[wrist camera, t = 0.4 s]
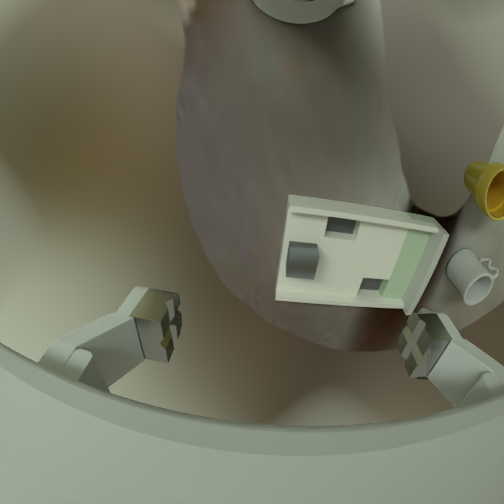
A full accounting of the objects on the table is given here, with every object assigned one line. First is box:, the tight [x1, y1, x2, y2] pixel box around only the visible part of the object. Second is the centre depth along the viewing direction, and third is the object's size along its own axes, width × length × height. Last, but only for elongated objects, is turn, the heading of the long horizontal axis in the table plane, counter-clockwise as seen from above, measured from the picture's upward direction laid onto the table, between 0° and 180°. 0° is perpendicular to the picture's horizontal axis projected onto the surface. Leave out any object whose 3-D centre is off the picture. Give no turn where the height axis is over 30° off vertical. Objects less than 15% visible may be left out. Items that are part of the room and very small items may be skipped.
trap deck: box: [275, 195, 449, 315], centre depth 49 cm, size 20×30×7 cm, turn 86°
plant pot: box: [464, 162, 504, 221], centre depth 36 cm, size 10×10×10 cm
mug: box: [447, 249, 499, 305], centre depth 46 cm, size 12×9×10 cm
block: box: [286, 241, 320, 280], centre depth 48 cm, size 5×5×4 cm
